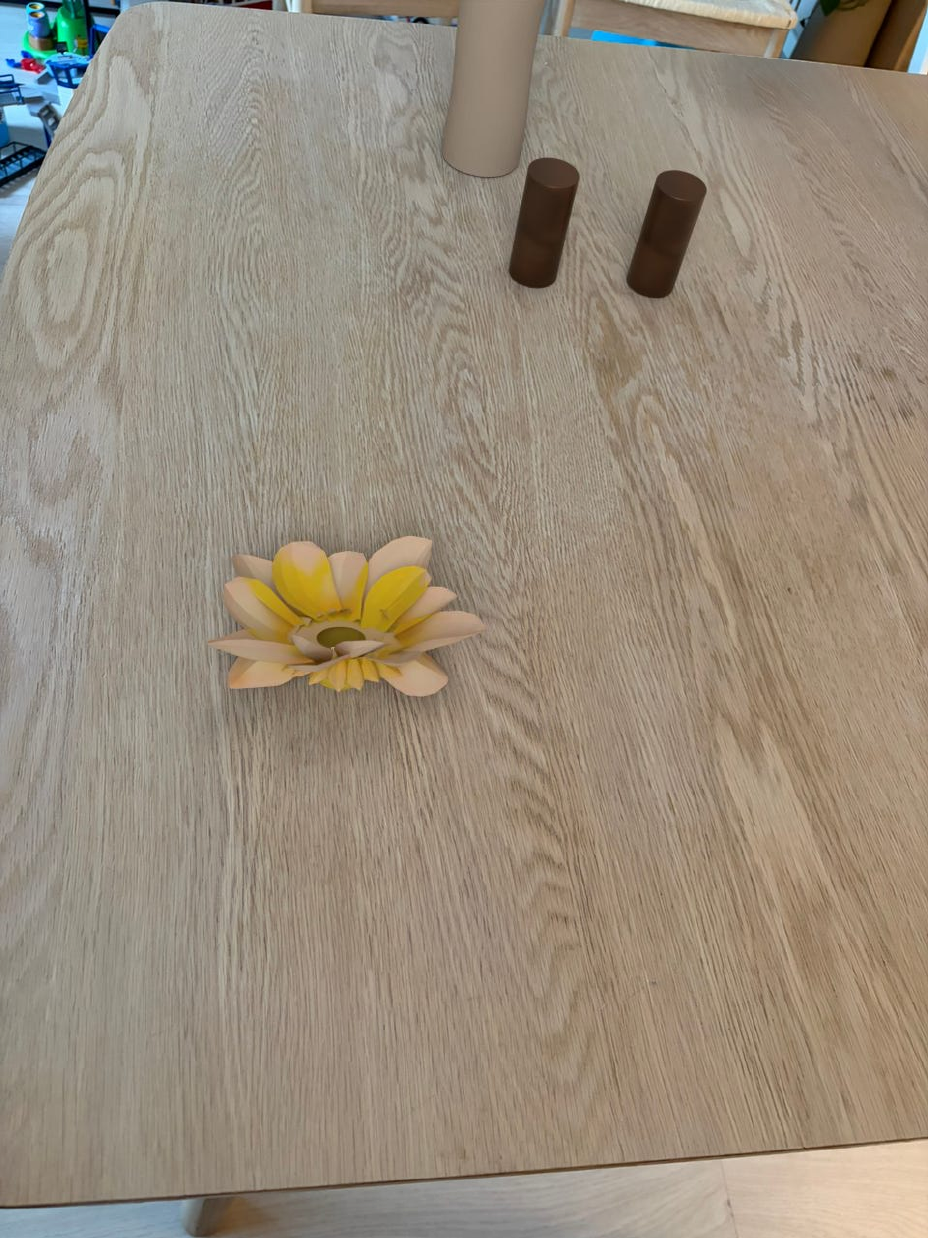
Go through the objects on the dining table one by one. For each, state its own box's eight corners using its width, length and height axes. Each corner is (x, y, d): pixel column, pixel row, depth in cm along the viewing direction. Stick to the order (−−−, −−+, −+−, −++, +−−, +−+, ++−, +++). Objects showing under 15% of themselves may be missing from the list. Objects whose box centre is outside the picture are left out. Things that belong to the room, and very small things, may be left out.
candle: (531, 105, 100) (574, -134, 84) (514, 184, 92) (558, -64, 76) (458, 91, 100) (487, -152, 84) (435, 168, 92) (462, -84, 76)
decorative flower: (483, 553, 65) (494, 474, 55) (478, 727, 60) (490, 673, 51) (243, 542, 64) (214, 460, 55) (222, 716, 60) (186, 659, 51)
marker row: (669, 269, 87) (702, 172, 80) (676, 299, 85) (711, 202, 78) (507, 255, 86) (525, 154, 78) (510, 286, 83) (529, 184, 76)
